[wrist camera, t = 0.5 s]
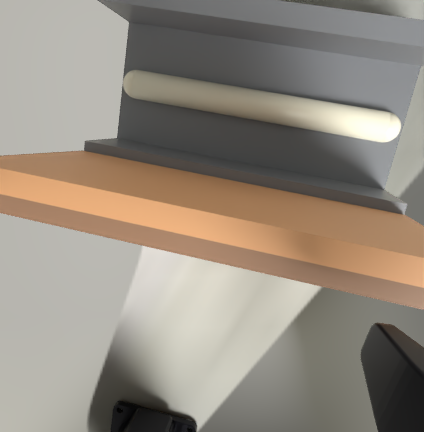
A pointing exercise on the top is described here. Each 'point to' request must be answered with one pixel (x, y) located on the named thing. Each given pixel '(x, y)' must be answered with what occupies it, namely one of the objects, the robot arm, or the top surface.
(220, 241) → the duct cover
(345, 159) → the cable duct
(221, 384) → the top surface
